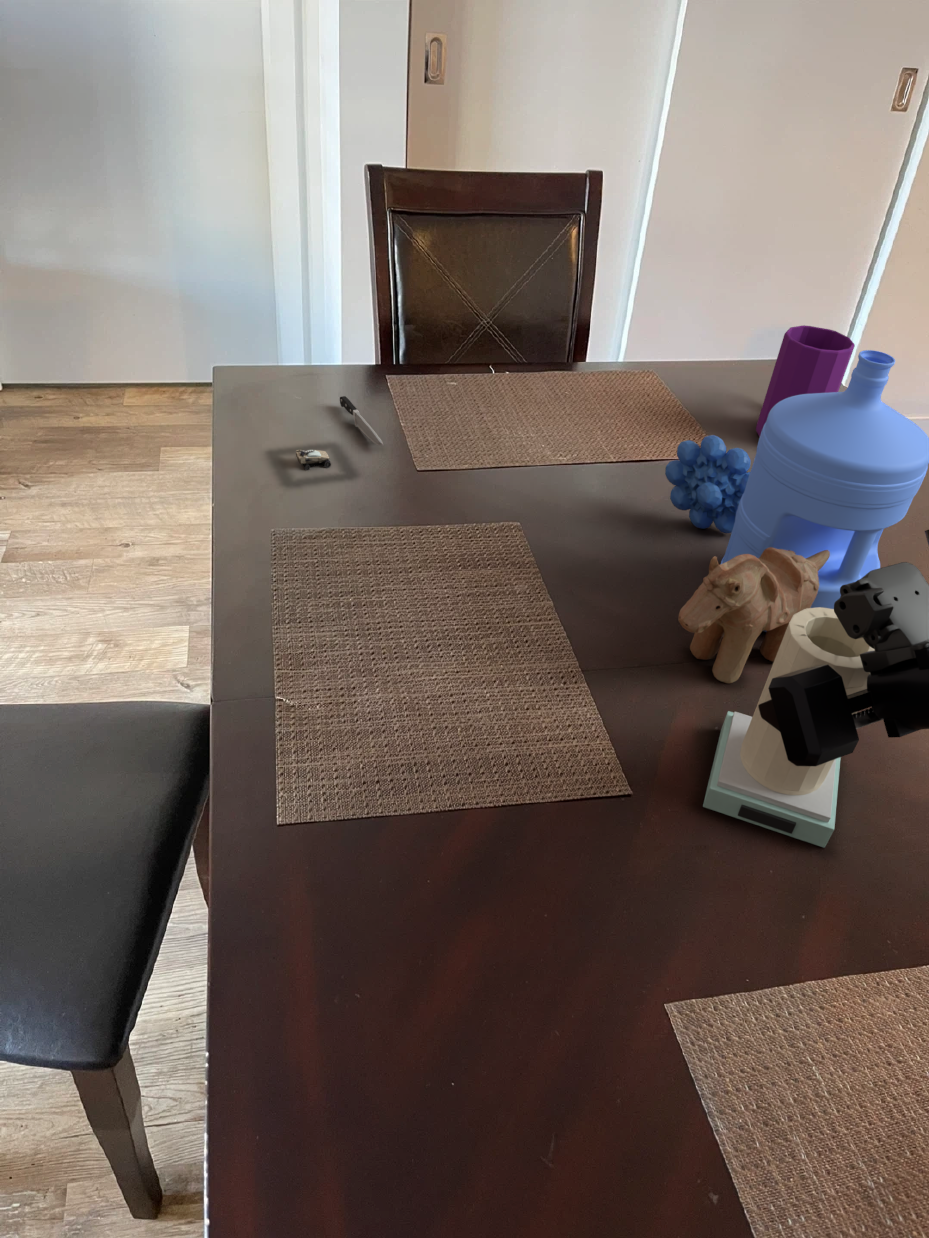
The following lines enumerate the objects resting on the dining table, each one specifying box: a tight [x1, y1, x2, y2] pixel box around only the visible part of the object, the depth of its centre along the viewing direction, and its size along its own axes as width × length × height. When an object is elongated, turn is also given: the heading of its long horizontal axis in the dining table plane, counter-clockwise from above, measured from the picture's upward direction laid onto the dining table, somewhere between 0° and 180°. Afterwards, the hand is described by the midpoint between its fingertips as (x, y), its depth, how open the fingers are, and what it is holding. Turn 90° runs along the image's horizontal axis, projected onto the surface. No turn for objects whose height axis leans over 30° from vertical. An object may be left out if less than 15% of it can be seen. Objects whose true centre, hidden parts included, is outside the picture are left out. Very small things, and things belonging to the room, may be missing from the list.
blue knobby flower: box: [664, 434, 752, 534], centre depth 106 cm, size 12×7×12 cm, turn 67°
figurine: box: [678, 547, 830, 684], centre depth 86 cm, size 7×18×15 cm, turn 122°
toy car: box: [295, 449, 332, 471], centre depth 114 cm, size 3×4×2 cm, turn 112°
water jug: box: [720, 349, 929, 633], centre depth 91 cm, size 16×16×28 cm
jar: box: [740, 607, 875, 795], centre depth 72 cm, size 7×7×14 cm
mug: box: [755, 324, 856, 438], centre depth 129 cm, size 9×16×15 cm, turn 165°
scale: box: [702, 710, 842, 849], centre depth 77 cm, size 10×10×3 cm
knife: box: [339, 395, 384, 447], centre depth 122 cm, size 15×1×2 cm, turn 27°
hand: (806, 696), depth 72 cm, fingers open, 9 cm apart
